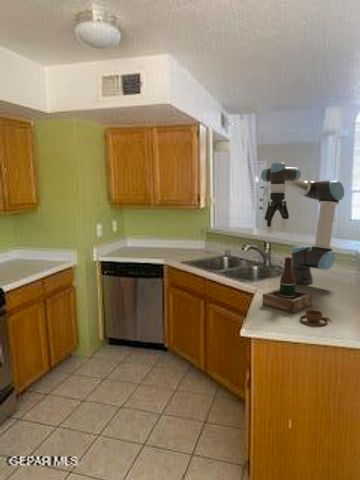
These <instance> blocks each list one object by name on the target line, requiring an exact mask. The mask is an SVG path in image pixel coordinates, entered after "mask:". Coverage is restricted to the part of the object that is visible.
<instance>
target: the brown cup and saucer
mask: <svg viewBox="0 0 360 480" xmlns="http://www.w3.org/2000/svg"><path fill="white" fill-rule="evenodd" d="M291 305H292V303H291V302H286V307H287V308H288V312H287V314H290V308H291ZM290 319H292V317H290ZM299 319H300V322H301V323H302V324H304V325H307V326H312V327H323V326H325V325H328V322H330V323H333V322H332V320H331V318H329V317H327V316H326V317H324V316H323V312H321V311H319V310H315V309H311V310H310V309H309V310H306V311H305V315H301V316H300V317H299ZM304 319H306V320H307V321H305V320H304ZM321 321H324V322H322V323H321ZM319 322H320V323H319Z"/></svg>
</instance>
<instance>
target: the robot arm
mask: <svg viewBox="0 0 360 480" xmlns="http://www.w3.org/2000/svg"><path fill="white" fill-rule="evenodd" d="M301 175H302V173H301V169H300V168H299V167H295V166H286V163H285V162H273V163H271V165H270V168H265V169H263V170H262V171H261V174H260V178H261V180H262V181H263V182H264V183H265V182H267V183H269V182H270V193H269V194H270V195H269V196H270V197H269V198H270V200H271V201H268V203H267V208H266V211H265V215H264V220H265V221H266V225H267V227H266V233H268V234H273V217H274V216H275V213H276V212H277V211H278V212H279V214H280V217H281V220H280V223H281V224H280V231H283V232H284V231H285V232H286V231H287V220H289V217H290V215H289V210H288V207H287V201H286V200H285V199H286V193H285V191H286V189H289V190H291V191H295V192H297V193H298V194H299V195H300V196H303V197H306V198H309V199H312V200H315V201H316V200H318V201H317V202H318V204H319V205H320V206H319V212H318V220H317V227H316V234H315V242H314V244H313V245H298V246H293V247H292V248H291V258H292V260H291V263H292V274H293V275H294V277H295V285H311V284H312V283H314V278H313V274H312V271H311V269H317V270H323V271H324V270H325V271H328V270H329V269H331V268H332V267H333V265H334V263H335V261H336V255H335V252H334V251H333V248H332V246H331V240H332V234H333V233H332V232H333V225H334V219H335V211H336V207H337V206H338V204H339V202H340V201H341V200H343V198H344V197H345V196H344V195H345V187H344V185H343V183H342V182H341V181H339V180H310V181H309V180H307V179H304V180H303V179H301Z"/></svg>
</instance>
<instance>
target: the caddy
mask: <svg viewBox="0 0 360 480" xmlns="http://www.w3.org/2000/svg"><path fill="white" fill-rule="evenodd" d="M286 302H291V303H292V305H291V308H290V312H289V314H290V313H291V314H296V313H298V312H300V311H302V310H304V309H306V308H309V307H311V306H313V293H309V292H304V291H300V290H296V289H295V299H293V300H292V299H287V298H283V297H280V287H279V288H277V289H274V290H270V291H267V292H265V293H262V306H263V307H267V308H271V309H275V310H280V311H282V312H287V313H288V308H287V307H286Z"/></svg>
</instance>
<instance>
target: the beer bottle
mask: <svg viewBox="0 0 360 480" xmlns="http://www.w3.org/2000/svg"><path fill="white" fill-rule="evenodd" d="M283 268H284V269H283V274H282V275H281V277H280V281H279V288H280V297H283V298H287V299H292V300H293V299H295V290H296V284H295V277H294V275H293V274H292V257H289V256H288V257H287V256H286V257H284V267H283Z"/></svg>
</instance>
